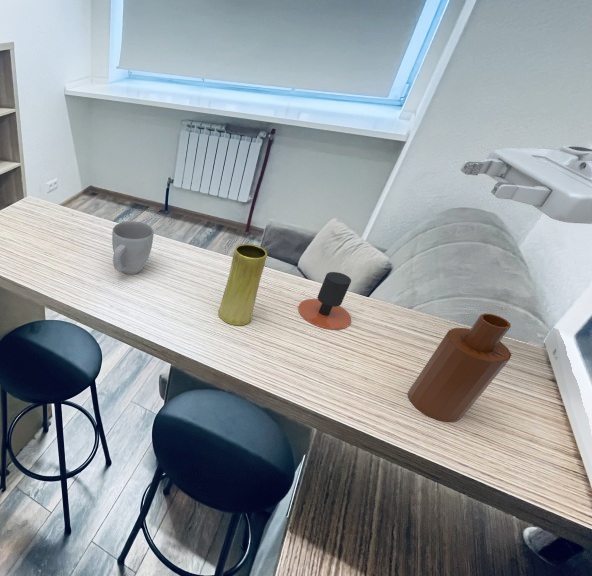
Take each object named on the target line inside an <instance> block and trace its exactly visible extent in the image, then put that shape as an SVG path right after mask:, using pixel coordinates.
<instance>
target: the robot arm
mask: <svg viewBox="0 0 592 576" xmlns="http://www.w3.org/2000/svg"><path fill="white" fill-rule="evenodd" d="M460 172H462V173H463V174H464V175H466V176H478V175H481V174H482V175H483V174H484V175H486V176H488V177H489V178H491V179H493V180H494V181H496V182H497V183H495V184H494V186H493V189H492V190H491V191H490V193H491V194H492V195H493V196H494V197H495V198H496V199H500V200H511V201H515V202H517V203H521V204H524V205H529V206H532V207H533V208H536V210H538V211H540V212H541V213H543V215H546V216H547V217H548V218H550V219H552V220H554V221H559V222H563V223H568V224H569V223H570V224H583V225H584V224H586V225H592V148H588V147H583V146H576V145H561V147H559V149H556V148H546V147H545V148H544V147H501V148H496V149H493V150H492V151H490V152H489V154H488V156H487V157H486V159H481V160H469V159H468V160H466V161H464V162H463V164H462V165H461V168H460Z"/></svg>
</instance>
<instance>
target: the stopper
mask: <svg viewBox="0 0 592 576" xmlns="http://www.w3.org/2000/svg"><path fill="white" fill-rule="evenodd" d="M324 277H325V278H323V282H322V284H321V286H320V290H319V291H318V293H317V294H318V295H317V297H316V299H318V300H319V301H320V302H321V303H322V305H321V307H320V310H319V313H320V314H322V315H325V316H327V315H329V314H330V311H331V309H332V307H336V306H342V303H343V301H344V299H345V296H346V294H347V292H348V290H349V287H350V286H351V283H352V279H351V277H349V276H348V275H346V274H344V273H341V272H339V271H338V272H337V271H330V272H327V273H326V274H325V276H324Z"/></svg>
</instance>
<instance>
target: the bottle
mask: <svg viewBox="0 0 592 576" xmlns="http://www.w3.org/2000/svg"><path fill="white" fill-rule="evenodd" d="M511 327H512V326H511V322H509V320H507V319H505V318H503V317H502V316H499V315H496V314H493V313H481V314H480V315H479V316H478V317H477V319H476V320H475V322H474V323H473V324H472V326H471V327H470V328H467V327H454V328H451V329H449V330H448V331H447V332H446V334H445V335H444V337H443V338H442V340H441V341H440V342H439V344H438V346H437V347H436V349H435V350H434V352H433V353H432V354H431V356H430V357H429V359H428V361H427V362H426V364H425V365H424V366H423V368H422V370H421V371H420V373H419V374H418V375H417V377H416V379H415V381H414V382H413V384H411V387H410V388H409V390H408V392H407V397H408V400H409V402H410V403H411V404H412V406H413V407H414V408H416V410H418V411H419V412H421V414H424V415H425V416H426V417H427V416H428V417H429V418H432V419H434V420H436V421H440V422H444V423H454V422H458V421H459V420H460V419H462V418H463V417H464V416H465V415H466V413H467V412H469V410H470V408H471V407H472V406H474V404H475V402H477V400H478V399H479V398H480V396H481V395H482V394H483V393H484V392H485V390H486V389H487V388H488V386H490V384H491V383H492V382H493V381H494V379H496V377H497V376H498V375H499V373H500V372H501V371H502V369H503V368H504V367H505V366H506V365H507V363H509V361H510V360H511V358H512V353H511V351H510V350H509V348H508V347H507V346H506V345H505V344H504V343H503V342H502V341H501V340H502V339H503V338H504V336H505V335H506V334H507V333H508V331H509V330H510V329H511Z"/></svg>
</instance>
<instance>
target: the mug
mask: <svg viewBox="0 0 592 576" xmlns="http://www.w3.org/2000/svg"><path fill="white" fill-rule="evenodd" d="M111 233H112V235H111V241H112V251H113V256H112V264H113V268H114V269H115V271H118V272H121V273H123V274H127V275H135V274H137V275H138V274H139V273H141V272H142V271H143V269H144V266H145V265H146V263H147V262H148V260H149V257H150V255H151V251H152V248H153V241H154V229H153V227H152V226H151V225H150V224H148V223H145V222H141V221H137V220H136V221H135V220H128V221H122V222H119V223H117V224H116V225H114V226H113V228H112V231H111Z"/></svg>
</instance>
